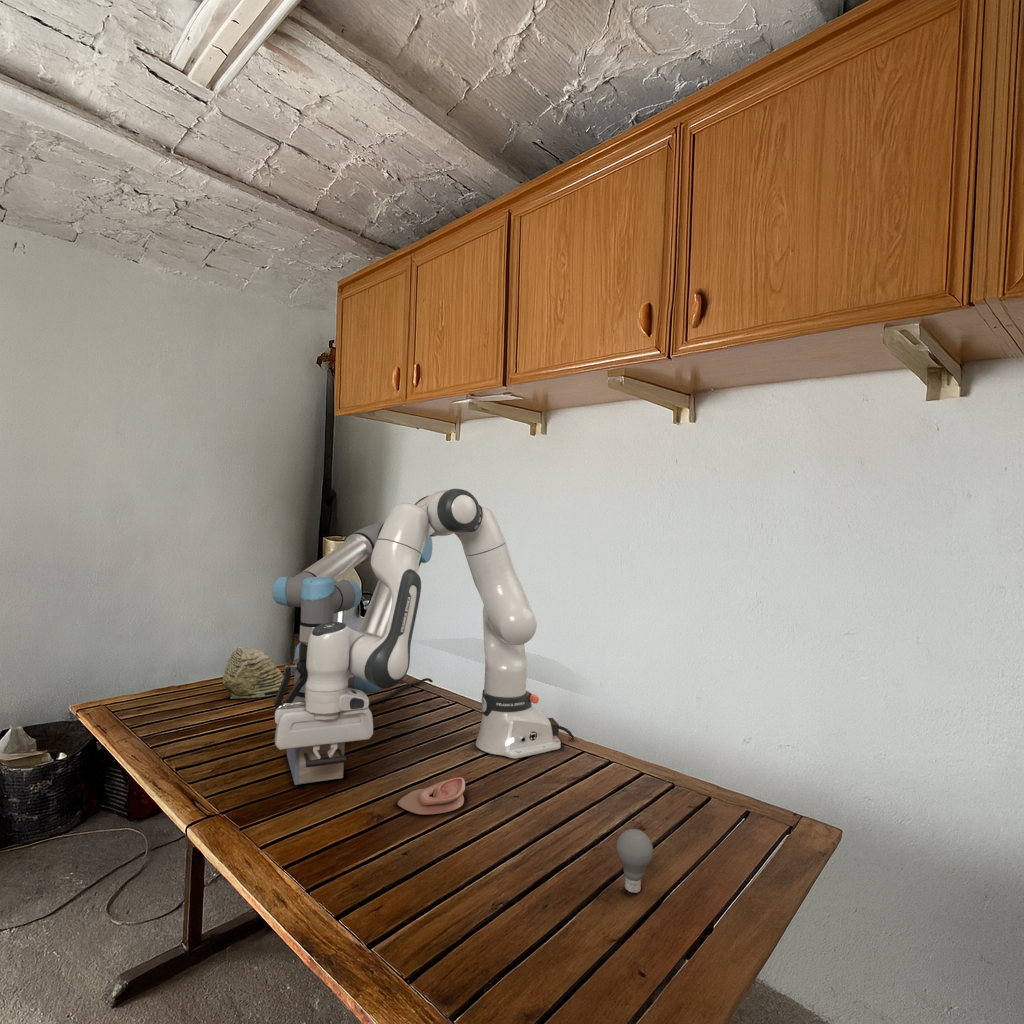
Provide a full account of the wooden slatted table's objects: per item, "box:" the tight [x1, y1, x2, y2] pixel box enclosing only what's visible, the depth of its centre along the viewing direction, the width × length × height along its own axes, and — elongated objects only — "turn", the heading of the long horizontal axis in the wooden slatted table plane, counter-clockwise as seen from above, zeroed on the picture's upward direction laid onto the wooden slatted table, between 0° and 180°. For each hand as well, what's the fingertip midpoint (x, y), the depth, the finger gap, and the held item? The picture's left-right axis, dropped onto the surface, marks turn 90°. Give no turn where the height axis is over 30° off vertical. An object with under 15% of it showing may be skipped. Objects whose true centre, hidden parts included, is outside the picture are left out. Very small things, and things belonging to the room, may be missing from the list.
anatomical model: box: [397, 776, 466, 816], centre depth 133 cm, size 13×4×12 cm
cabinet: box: [286, 742, 346, 786], centre depth 148 cm, size 17×10×11 cm, turn 25°
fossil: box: [222, 646, 284, 699], centre depth 198 cm, size 9×18×15 cm, turn 132°
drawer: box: [298, 742, 347, 785], centre depth 143 cm, size 22×9×9 cm, turn 25°
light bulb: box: [615, 828, 654, 894], centre depth 106 cm, size 6×6×10 cm
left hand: (312, 733), depth 152 cm, fingers closed on cabinet, 10 cm apart
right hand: (323, 763), depth 136 cm, fingers closed
